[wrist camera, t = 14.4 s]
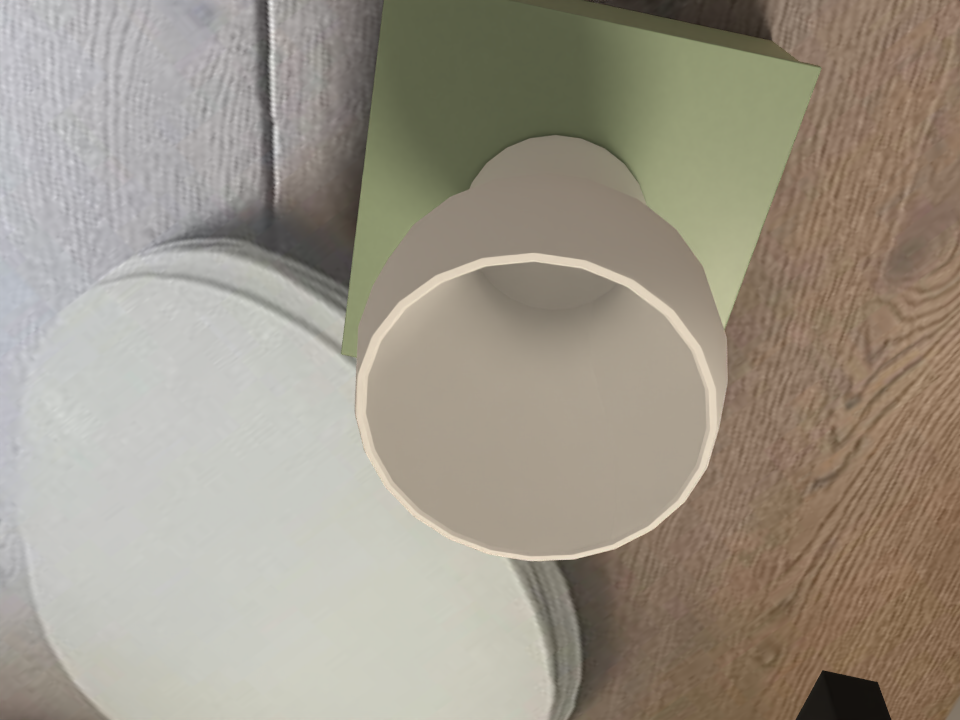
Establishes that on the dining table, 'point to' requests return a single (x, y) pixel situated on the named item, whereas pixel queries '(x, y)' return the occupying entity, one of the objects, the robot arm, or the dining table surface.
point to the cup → (542, 360)
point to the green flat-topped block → (577, 119)
